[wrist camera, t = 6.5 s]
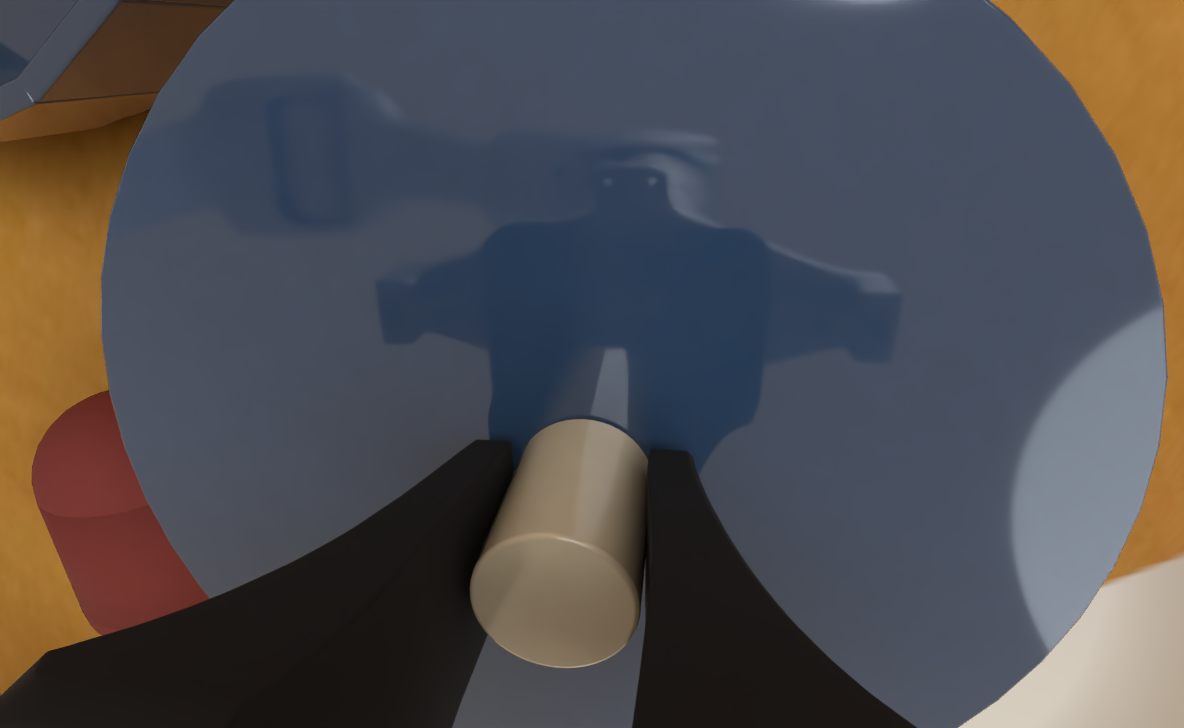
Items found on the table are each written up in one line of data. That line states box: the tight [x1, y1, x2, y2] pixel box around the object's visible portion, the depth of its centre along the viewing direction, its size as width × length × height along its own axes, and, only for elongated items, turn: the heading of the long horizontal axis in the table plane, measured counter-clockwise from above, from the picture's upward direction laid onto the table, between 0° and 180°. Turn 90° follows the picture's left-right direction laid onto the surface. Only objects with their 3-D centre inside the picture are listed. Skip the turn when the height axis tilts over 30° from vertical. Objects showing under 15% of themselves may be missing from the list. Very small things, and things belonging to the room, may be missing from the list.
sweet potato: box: [32, 390, 210, 636], centre depth 20 cm, size 4×8×4 cm, turn 1°
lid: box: [101, 0, 1168, 728], centre depth 11 cm, size 18×18×4 cm
